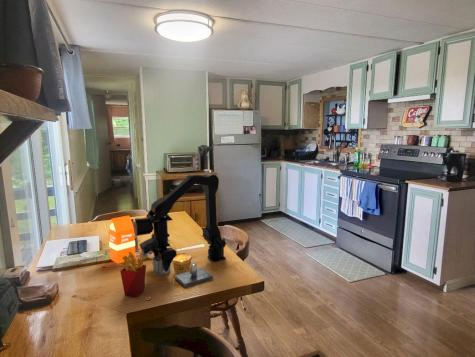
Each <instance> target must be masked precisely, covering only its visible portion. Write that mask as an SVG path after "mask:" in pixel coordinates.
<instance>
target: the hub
mask: <svg viewBox="0 0 475 357" xmlns="http://www.w3.org/2000/svg"><path fill="white" fill-rule="evenodd" d="M152 267H153V269H152V270H153V272H152V273H153V274H154V275H156V274H157V275H156V276H165V275H168V274H169V273H171V266H170V267H169V269H168V271H167V272H165V271H164V266H163V261H162V260H161V259H160V258H159V255H158V256H154V257H153V258H152ZM167 273H168V274H167ZM164 274H165V275H164Z"/></svg>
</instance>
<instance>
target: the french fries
mask: <svg viewBox="0 0 475 357" xmlns="http://www.w3.org/2000/svg"><path fill="white" fill-rule="evenodd" d="M129 254H130V255H128V257H127V256H124V257H123V258H122V259H123V260H124V262H123V264H122V263H117V267H120V268H122V269H120V276H121V282H122V288H123V293H124V297H127V298H136V299H138V298H139V297H140V296H142V294H143V293H144V292H145V286H146V272H147V270H146V269H147V265H146V264H143V261H144V260H146V259H147V258H146V256H145V257H143V258H142V259H141V257H140V256H139V257H138V263H137V261H136V260H137V257H136V258H135V257H134V255H133V254H132V253H131V252H129ZM130 258H131V260H130Z"/></svg>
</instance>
